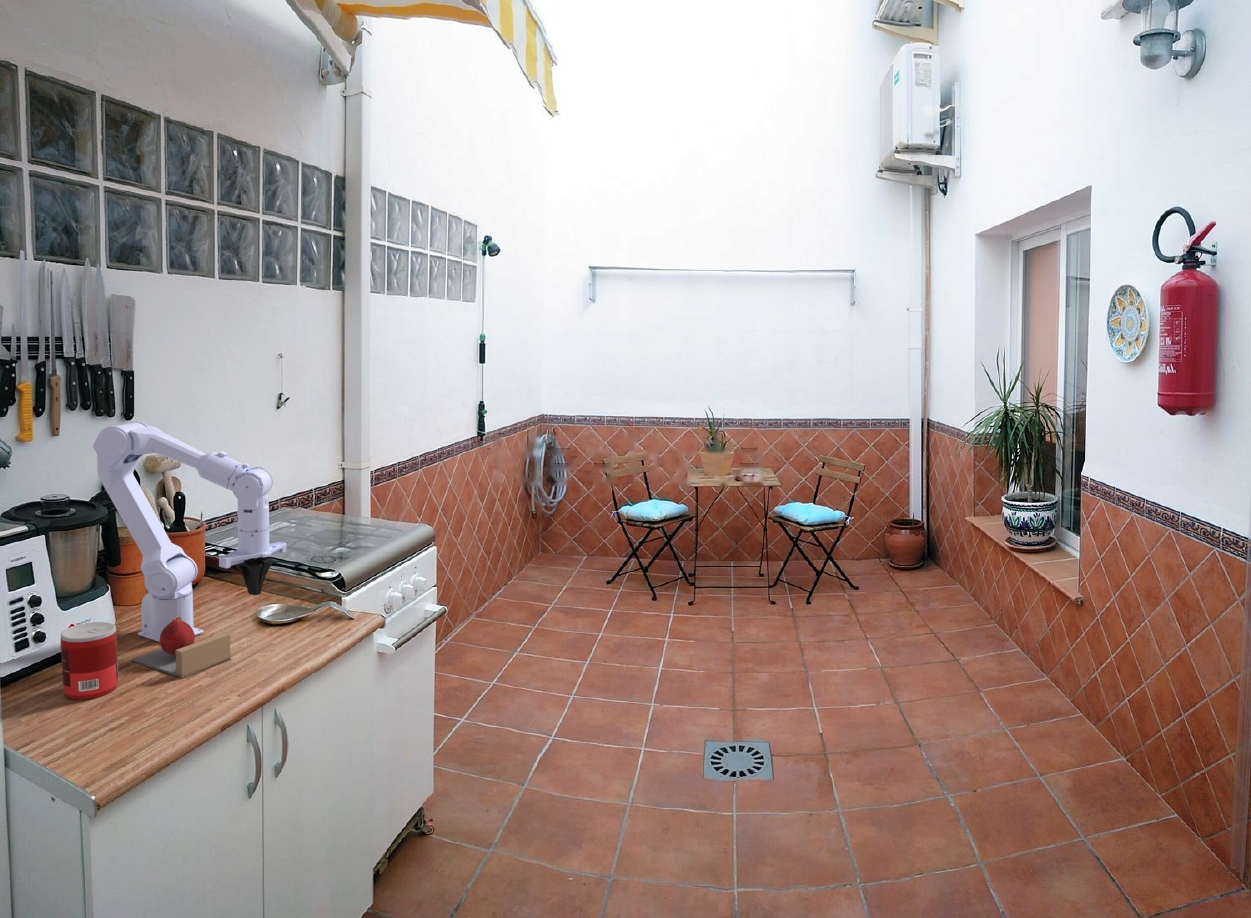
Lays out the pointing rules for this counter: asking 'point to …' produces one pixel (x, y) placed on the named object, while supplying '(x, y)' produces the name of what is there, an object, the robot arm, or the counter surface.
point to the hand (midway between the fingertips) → (254, 593)
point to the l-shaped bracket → (190, 657)
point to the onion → (176, 636)
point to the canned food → (89, 660)
